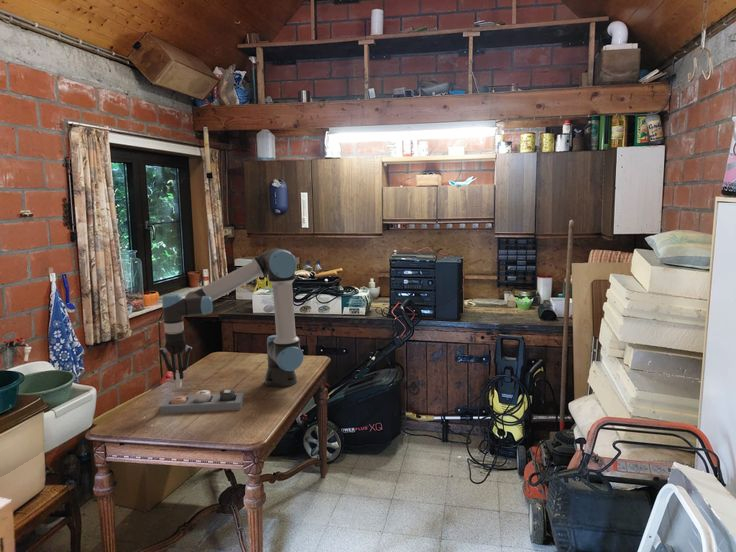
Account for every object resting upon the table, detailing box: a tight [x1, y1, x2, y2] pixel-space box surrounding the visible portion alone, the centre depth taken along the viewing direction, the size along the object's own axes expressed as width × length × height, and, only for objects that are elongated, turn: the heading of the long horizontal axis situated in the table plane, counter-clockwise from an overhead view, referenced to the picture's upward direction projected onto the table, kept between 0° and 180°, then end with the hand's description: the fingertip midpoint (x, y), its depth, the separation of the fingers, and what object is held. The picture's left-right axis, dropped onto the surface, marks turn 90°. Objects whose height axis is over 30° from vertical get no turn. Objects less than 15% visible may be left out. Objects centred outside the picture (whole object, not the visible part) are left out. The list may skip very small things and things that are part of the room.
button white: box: [194, 389, 211, 403], centre depth 226 cm, size 6×6×4 cm
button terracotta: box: [171, 395, 186, 404], centre depth 225 cm, size 6×6×4 cm
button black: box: [219, 388, 236, 401], centre depth 227 cm, size 6×6×4 cm
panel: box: [159, 392, 245, 415], centre depth 226 cm, size 32×12×3 cm, turn 97°
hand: (179, 386), depth 224 cm, fingers closed
